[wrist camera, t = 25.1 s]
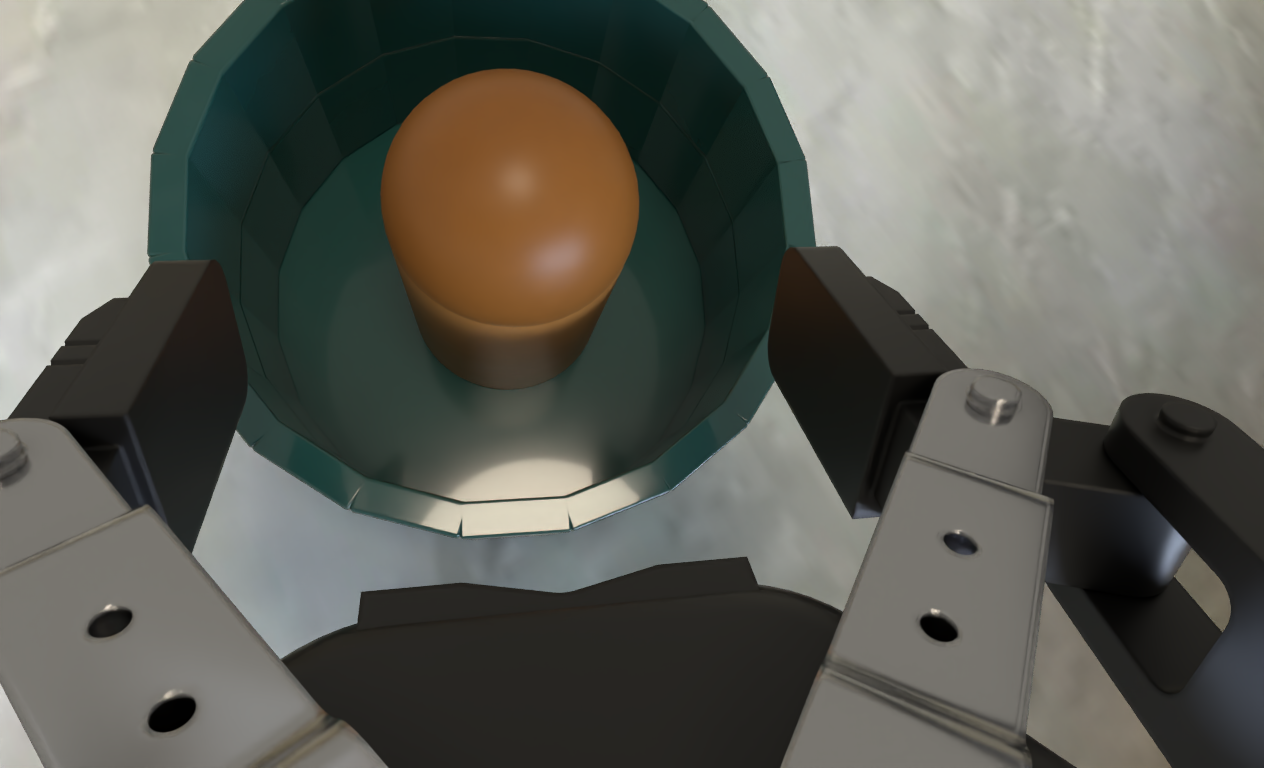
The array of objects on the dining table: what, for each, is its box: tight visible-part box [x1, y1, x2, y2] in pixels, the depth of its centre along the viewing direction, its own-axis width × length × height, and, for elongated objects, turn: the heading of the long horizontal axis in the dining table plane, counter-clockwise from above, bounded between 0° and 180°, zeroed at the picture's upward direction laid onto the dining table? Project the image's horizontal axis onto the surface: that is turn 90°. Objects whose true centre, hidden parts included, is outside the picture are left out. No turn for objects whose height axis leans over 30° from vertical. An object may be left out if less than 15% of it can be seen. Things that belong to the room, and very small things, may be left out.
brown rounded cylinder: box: [380, 69, 639, 390], centre depth 19 cm, size 5×5×10 cm
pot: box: [147, 0, 816, 540], centre depth 20 cm, size 13×13×8 cm
